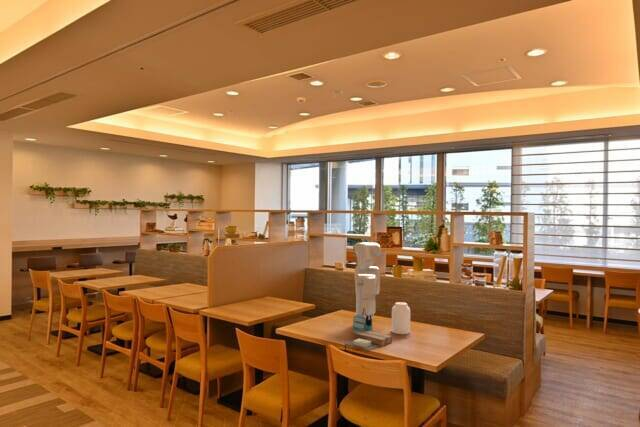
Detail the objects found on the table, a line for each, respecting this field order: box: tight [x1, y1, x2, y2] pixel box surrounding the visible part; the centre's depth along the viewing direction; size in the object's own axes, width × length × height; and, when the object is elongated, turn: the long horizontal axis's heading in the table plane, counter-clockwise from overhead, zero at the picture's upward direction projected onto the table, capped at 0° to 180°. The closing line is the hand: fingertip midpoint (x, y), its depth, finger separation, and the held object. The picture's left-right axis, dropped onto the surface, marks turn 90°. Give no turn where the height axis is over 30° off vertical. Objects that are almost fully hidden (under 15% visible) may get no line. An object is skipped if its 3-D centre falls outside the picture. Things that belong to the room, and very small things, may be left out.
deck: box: [354, 330, 393, 347], centre depth 275 cm, size 12×20×4 cm, turn 49°
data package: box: [352, 314, 373, 334], centre depth 291 cm, size 12×4×12 cm, turn 60°
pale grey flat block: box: [352, 338, 371, 348], centre depth 266 cm, size 6×9×2 cm, turn 50°
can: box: [390, 301, 411, 335], centre depth 297 cm, size 12×12×20 cm
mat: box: [344, 340, 381, 351], centre depth 266 cm, size 12×18×1 cm, turn 49°
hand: (368, 325), depth 272 cm, fingers closed
